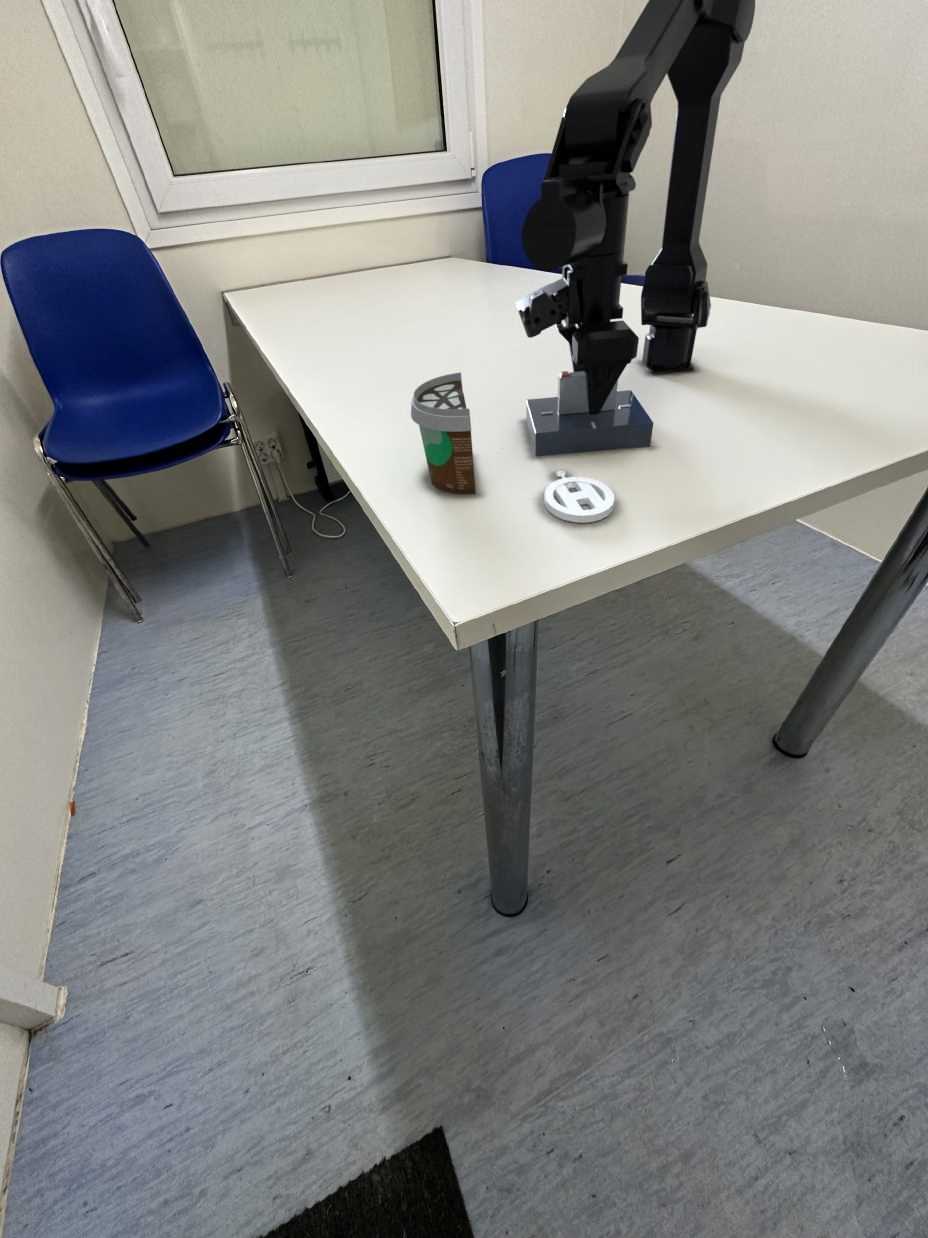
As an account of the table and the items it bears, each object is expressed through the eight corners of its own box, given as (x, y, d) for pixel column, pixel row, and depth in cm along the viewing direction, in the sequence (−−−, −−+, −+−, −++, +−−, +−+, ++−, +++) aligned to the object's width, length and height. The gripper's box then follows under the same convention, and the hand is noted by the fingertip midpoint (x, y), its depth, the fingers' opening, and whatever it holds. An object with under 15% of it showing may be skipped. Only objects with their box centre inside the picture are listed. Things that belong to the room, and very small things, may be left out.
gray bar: (612, 404, 69) (616, 365, 66) (615, 409, 68) (619, 370, 65) (557, 409, 69) (558, 371, 66) (559, 414, 68) (560, 375, 65)
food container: (420, 458, 69) (407, 376, 63) (467, 452, 69) (460, 370, 63) (422, 506, 60) (408, 417, 54) (477, 500, 60) (469, 410, 54)
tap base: (628, 411, 75) (631, 388, 72) (650, 446, 66) (654, 421, 64) (526, 421, 75) (526, 397, 73) (535, 457, 67) (535, 432, 65)
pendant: (559, 527, 54) (559, 521, 54) (527, 478, 63) (527, 472, 62) (626, 515, 55) (627, 508, 55) (586, 468, 63) (586, 461, 63)
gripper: (513, 245, 65) (515, 380, 75) (529, 276, 51) (530, 436, 61) (606, 235, 64) (596, 372, 75) (649, 264, 50) (629, 427, 61)
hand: (586, 399), depth 68 cm, fingers open, 9 cm apart
